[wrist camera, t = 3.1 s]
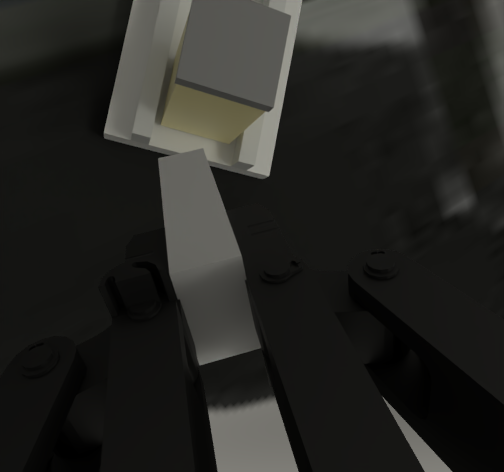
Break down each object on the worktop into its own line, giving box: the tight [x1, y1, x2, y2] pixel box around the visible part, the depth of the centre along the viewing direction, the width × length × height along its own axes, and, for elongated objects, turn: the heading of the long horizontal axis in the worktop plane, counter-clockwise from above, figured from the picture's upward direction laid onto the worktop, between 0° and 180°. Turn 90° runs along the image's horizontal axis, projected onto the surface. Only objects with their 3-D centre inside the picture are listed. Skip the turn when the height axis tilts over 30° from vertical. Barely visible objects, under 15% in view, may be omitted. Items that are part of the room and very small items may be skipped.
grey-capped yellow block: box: [161, 0, 291, 144], centre depth 27 cm, size 5×5×9 cm
